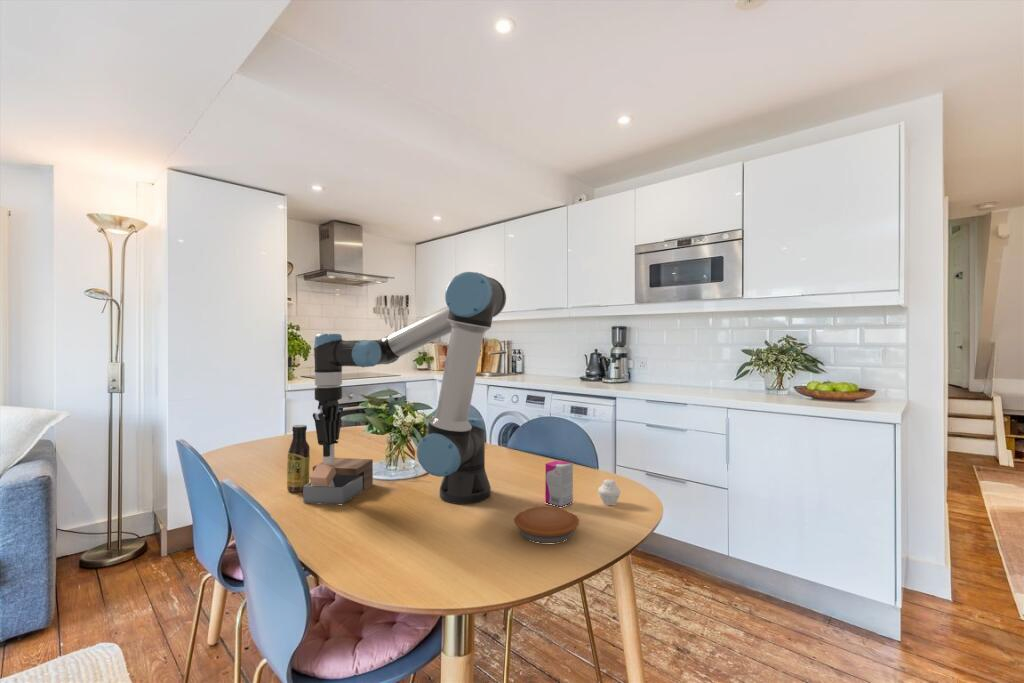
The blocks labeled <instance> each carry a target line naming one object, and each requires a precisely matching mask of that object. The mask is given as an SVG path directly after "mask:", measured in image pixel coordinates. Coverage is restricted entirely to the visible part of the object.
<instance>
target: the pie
mask: <svg viewBox="0 0 1024 683" xmlns="http://www.w3.org/2000/svg"><path fill="white" fill-rule="evenodd" d="M513 521H514V524H515V526H516V527H517V528H518V529H519V532H520V534H521V535H522V536H523V538H525V539H526V540H527V539H528V541H529V540H531V541H534V542H533V543H535V542H539V543H557V542H561V541H564V540H566V539H567V540H569V538H570V537H571V535H572V534H573V533H574V531H575V529H576V528H577V527H578V526H579V522H580V521H579V518H578V515H576V514H574V513H572V512H569V511H568V510H566V509H564V508H558V507H554V506H550V505H547V506H544V505H543V506H533V507H530V508H526V509H524V510H523V511H520V512H519V513H517V514H516V515H515V516H514V518H513ZM567 540H566V541H567ZM531 541H530V542H531ZM564 542H565V541H564ZM539 543H538V544H539ZM561 543H562V542H561ZM557 544H558V543H557Z"/></svg>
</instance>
